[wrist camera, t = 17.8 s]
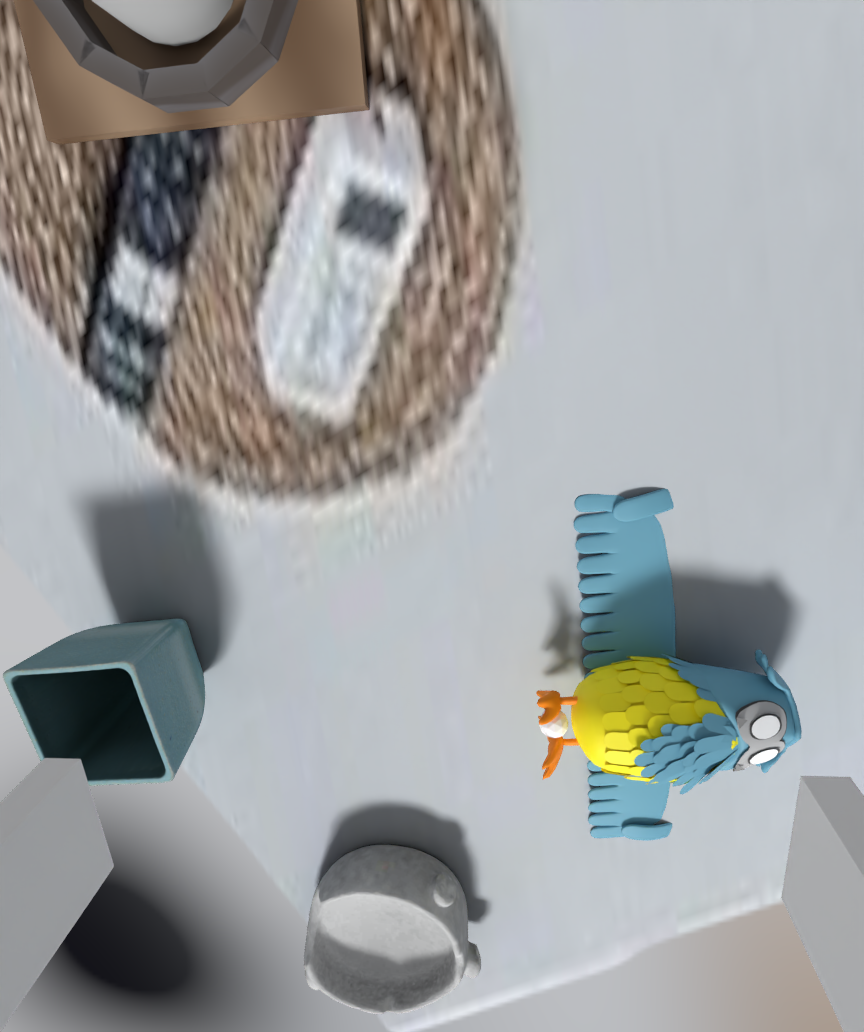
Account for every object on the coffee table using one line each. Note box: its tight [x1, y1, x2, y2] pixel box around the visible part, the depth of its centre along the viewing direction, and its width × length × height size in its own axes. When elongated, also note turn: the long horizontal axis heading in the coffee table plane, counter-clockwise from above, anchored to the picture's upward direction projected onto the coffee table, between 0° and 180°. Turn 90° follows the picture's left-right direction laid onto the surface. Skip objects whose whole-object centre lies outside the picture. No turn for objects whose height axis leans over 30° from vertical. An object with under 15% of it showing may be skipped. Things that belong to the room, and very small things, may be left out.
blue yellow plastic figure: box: [537, 488, 801, 840], centre depth 39 cm, size 28×9×15 cm
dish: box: [304, 845, 481, 1014], centre depth 50 cm, size 14×14×5 cm
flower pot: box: [3, 618, 205, 786], centre depth 42 cm, size 9×9×9 cm
